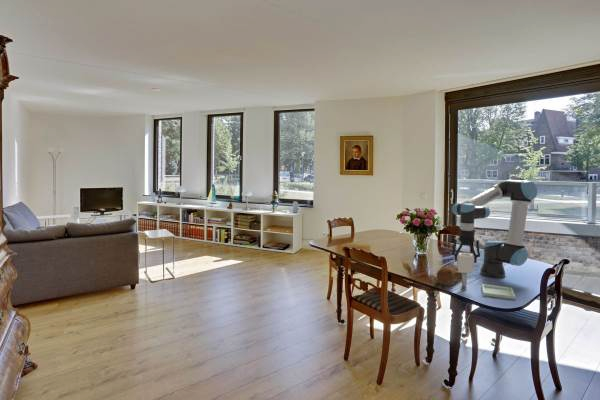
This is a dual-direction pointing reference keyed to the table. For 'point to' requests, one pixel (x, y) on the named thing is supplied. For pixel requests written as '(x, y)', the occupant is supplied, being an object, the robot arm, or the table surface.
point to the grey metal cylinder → (464, 281)
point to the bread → (449, 275)
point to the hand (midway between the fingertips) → (465, 267)
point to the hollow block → (465, 263)
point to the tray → (498, 291)
